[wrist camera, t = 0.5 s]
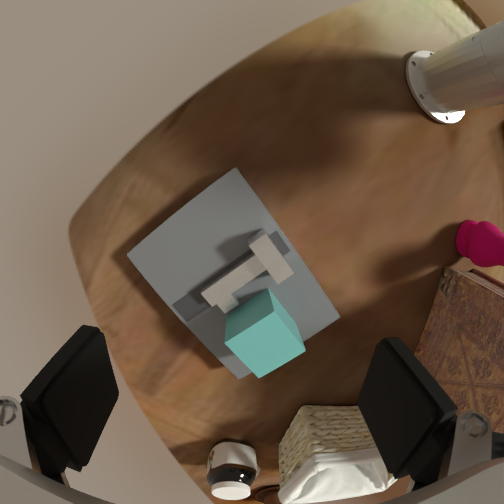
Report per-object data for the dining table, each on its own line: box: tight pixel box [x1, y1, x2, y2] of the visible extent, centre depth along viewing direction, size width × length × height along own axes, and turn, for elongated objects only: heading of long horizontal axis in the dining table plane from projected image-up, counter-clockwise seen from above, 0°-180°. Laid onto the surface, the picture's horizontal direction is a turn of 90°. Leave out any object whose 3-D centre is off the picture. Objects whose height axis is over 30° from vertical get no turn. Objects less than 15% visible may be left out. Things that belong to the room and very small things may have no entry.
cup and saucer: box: [255, 486, 282, 504], centre depth 49 cm, size 12×12×6 cm
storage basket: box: [278, 405, 398, 504], centre depth 37 cm, size 24×16×15 cm
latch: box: [201, 228, 294, 313], centre depth 29 cm, size 10×5×3 cm, turn 126°
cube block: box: [224, 288, 306, 378], centre depth 30 cm, size 6×6×6 cm
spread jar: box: [207, 440, 260, 500], centre depth 39 cm, size 12×11×12 cm
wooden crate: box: [414, 266, 504, 434], centre depth 25 cm, size 25×9×30 cm, turn 173°
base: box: [126, 167, 340, 379], centre depth 33 cm, size 16×22×4 cm
